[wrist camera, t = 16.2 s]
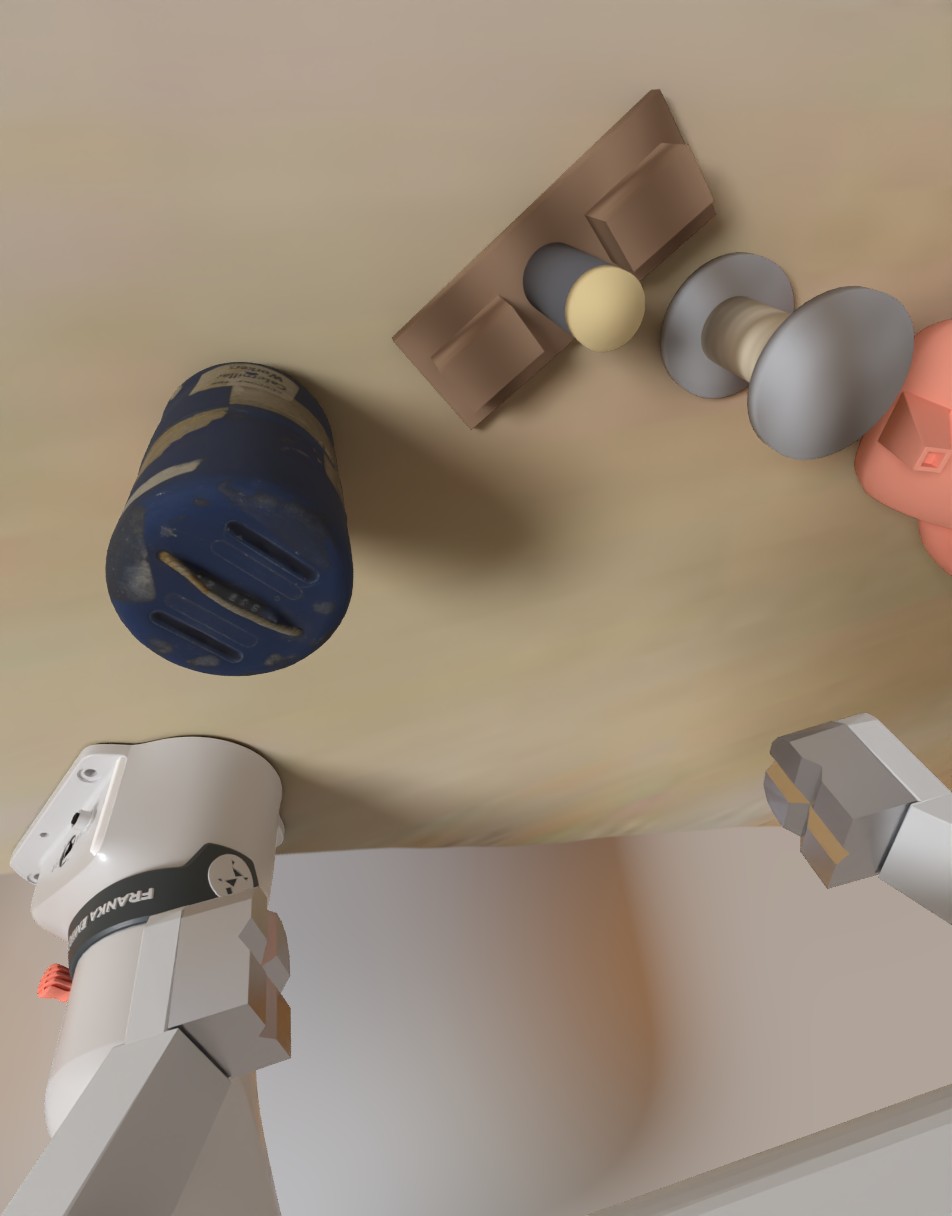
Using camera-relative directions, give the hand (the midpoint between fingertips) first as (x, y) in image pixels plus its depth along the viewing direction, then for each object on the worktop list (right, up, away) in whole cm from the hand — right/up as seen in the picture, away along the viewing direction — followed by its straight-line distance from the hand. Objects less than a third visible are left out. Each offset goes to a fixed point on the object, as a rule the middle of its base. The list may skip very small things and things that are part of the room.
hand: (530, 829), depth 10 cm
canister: (-14, +14, +29) cm, 35 cm away
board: (+3, +22, +28) cm, 36 cm away
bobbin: (+15, +21, +32) cm, 41 cm away
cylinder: (+4, +22, +27) cm, 35 cm away
